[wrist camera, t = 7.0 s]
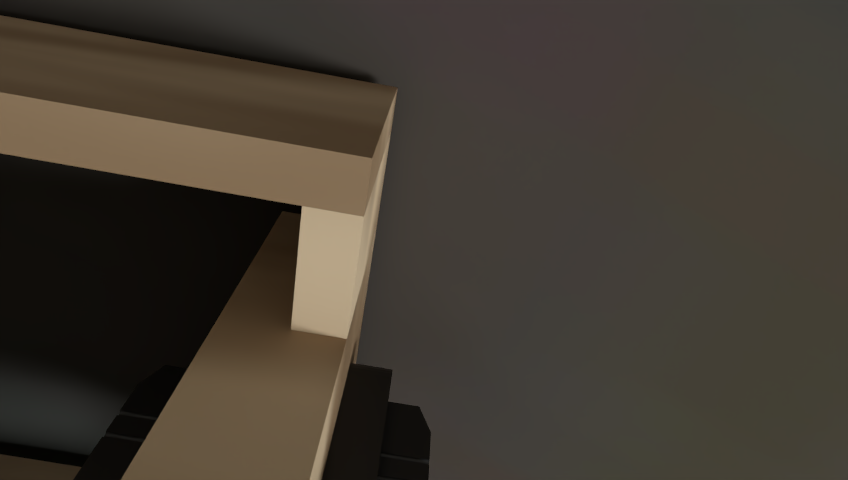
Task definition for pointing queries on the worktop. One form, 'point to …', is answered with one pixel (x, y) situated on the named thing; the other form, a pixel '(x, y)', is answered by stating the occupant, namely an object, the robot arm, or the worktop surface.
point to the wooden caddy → (237, 174)
